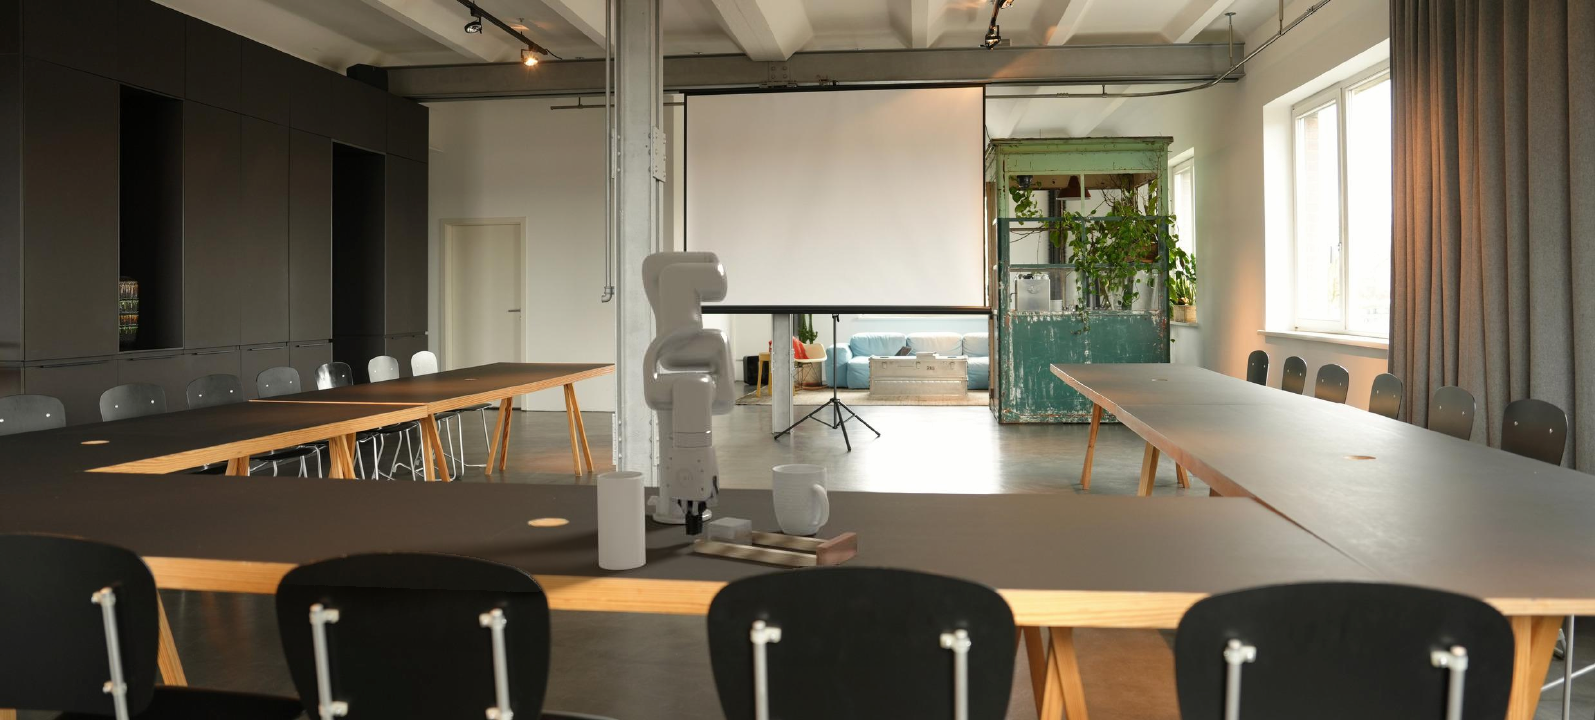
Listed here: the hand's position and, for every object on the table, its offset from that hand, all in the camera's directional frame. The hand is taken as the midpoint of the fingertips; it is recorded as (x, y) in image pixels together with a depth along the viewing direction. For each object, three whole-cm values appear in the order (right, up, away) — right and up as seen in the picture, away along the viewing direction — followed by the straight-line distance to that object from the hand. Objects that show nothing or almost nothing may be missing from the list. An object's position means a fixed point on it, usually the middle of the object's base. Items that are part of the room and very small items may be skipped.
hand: (694, 533), depth 186 cm
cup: (-11, -3, -15) cm, 19 cm away
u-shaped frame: (+16, -2, -9) cm, 18 cm away
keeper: (+7, -2, -4) cm, 8 cm away
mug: (+21, -1, +6) cm, 22 cm away
